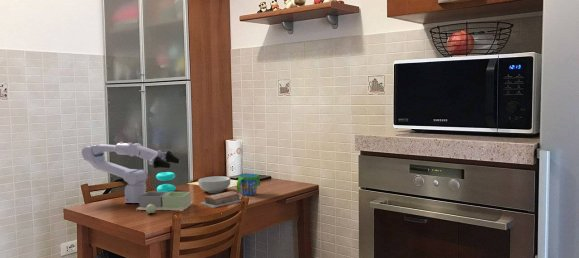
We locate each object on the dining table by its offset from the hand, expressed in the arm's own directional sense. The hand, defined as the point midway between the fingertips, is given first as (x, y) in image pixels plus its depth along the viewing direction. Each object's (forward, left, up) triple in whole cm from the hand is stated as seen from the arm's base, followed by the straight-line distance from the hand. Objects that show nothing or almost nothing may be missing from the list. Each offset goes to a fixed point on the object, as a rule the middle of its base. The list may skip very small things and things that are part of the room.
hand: (174, 163), depth 235 cm
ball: (-6, -17, -18) cm, 25 cm away
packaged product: (+21, +4, -21) cm, 30 cm away
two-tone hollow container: (-4, -5, -20) cm, 21 cm away
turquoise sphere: (-16, +29, -20) cm, 39 cm away
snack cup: (+31, +22, -20) cm, 44 cm away
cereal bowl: (+11, +29, -20) cm, 37 cm away
